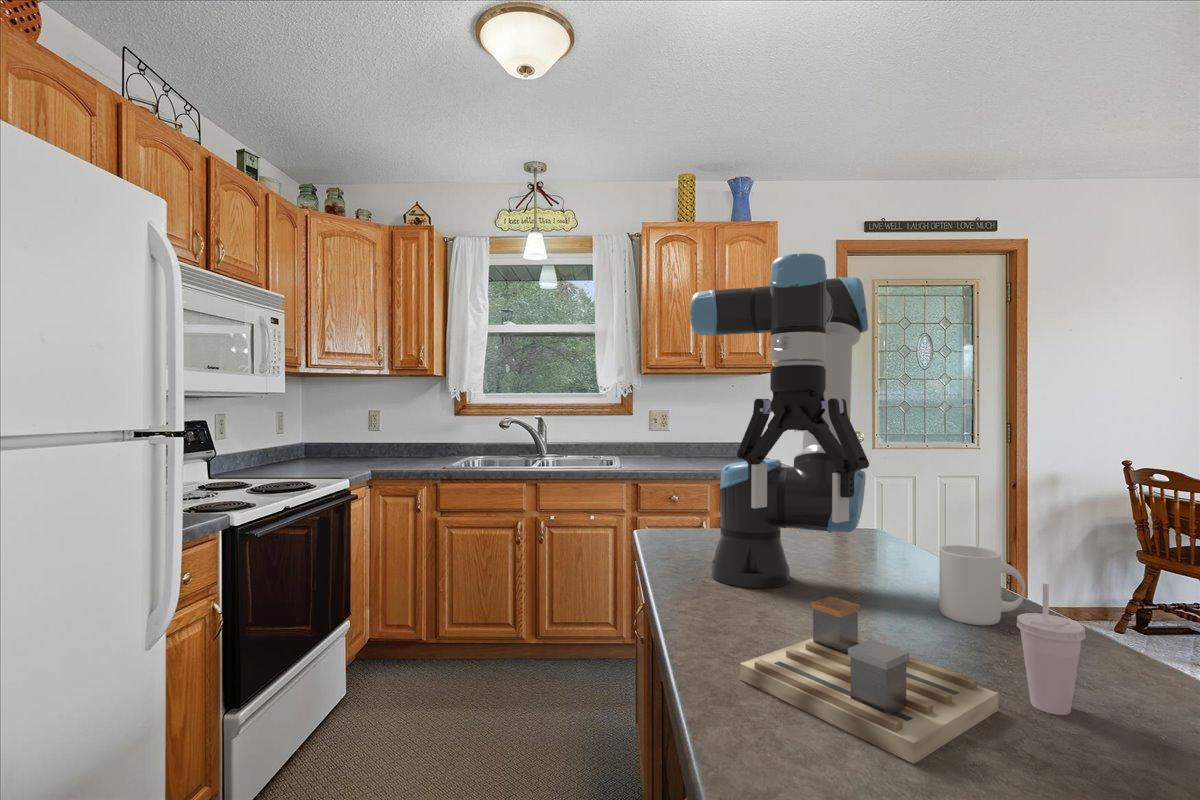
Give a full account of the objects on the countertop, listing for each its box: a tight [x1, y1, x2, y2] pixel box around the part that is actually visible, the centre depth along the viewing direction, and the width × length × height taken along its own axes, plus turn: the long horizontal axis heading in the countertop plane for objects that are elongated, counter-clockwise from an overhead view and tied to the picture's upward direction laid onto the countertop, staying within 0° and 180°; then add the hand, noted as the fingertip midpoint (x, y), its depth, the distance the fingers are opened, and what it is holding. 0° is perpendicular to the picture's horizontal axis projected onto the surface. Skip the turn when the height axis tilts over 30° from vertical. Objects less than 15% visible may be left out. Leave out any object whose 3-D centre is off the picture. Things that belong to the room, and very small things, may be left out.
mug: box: [938, 544, 1026, 626], centre depth 100 cm, size 9×12×11 cm
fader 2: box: [848, 639, 910, 715], centre depth 66 cm, size 4×4×6 cm
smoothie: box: [1016, 583, 1087, 716], centre depth 70 cm, size 6×6×14 cm
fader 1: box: [810, 596, 861, 654], centre depth 82 cm, size 4×4×6 cm
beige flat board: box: [739, 637, 999, 765], centre depth 73 cm, size 22×18×3 cm
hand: (797, 514), depth 88 cm, fingers open, 13 cm apart
